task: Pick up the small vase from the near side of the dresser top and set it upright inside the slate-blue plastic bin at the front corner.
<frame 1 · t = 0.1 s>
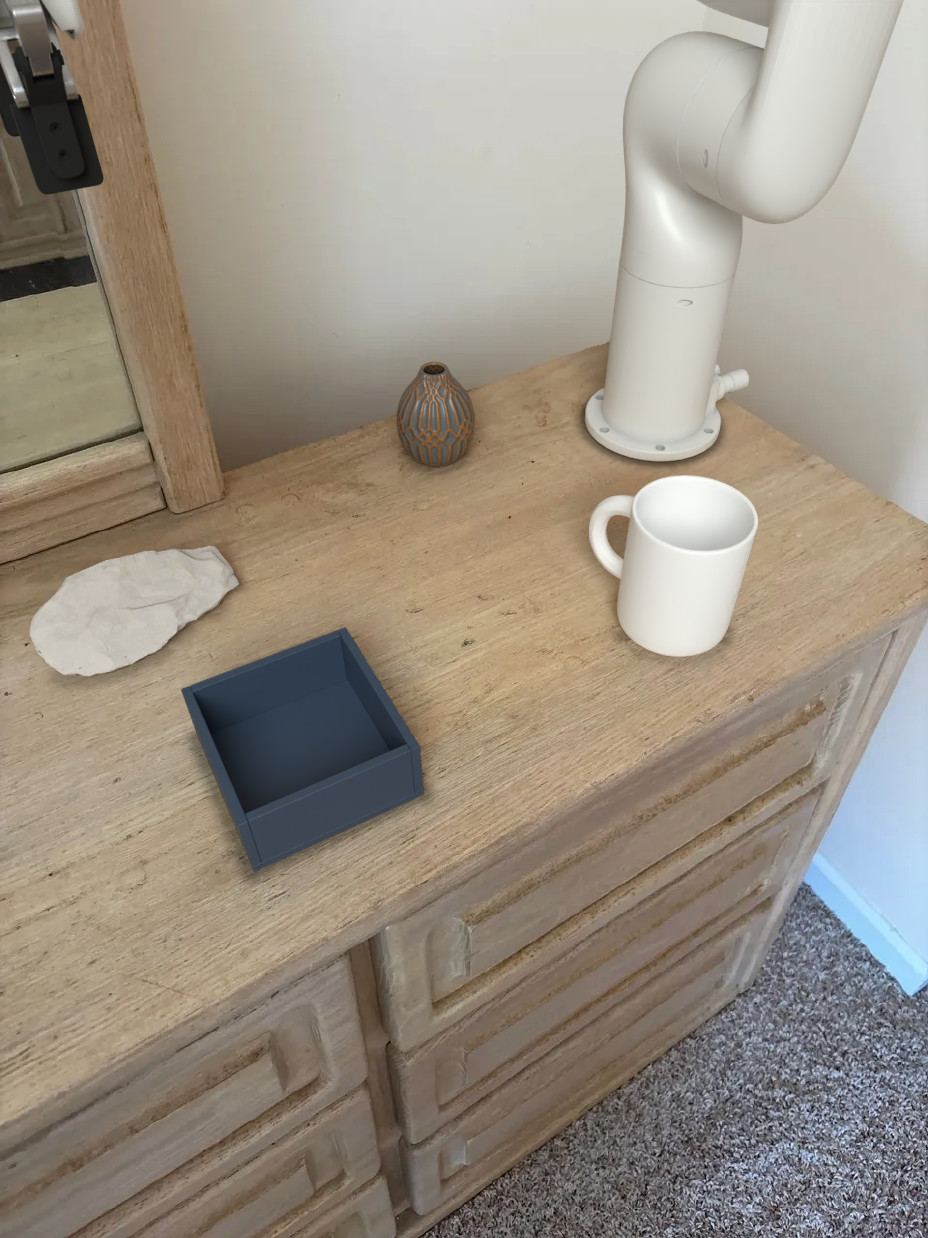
hand: (53, 157, 49), 31 cm above the dresser, tool pointing down, fingers open, 9 cm apart
stone tool: (145, 624, 68), on the dresser
bin: (307, 765, 58), on the dresser
mug: (649, 610, 68), on the dresser
vase: (437, 456, 83), on the dresser
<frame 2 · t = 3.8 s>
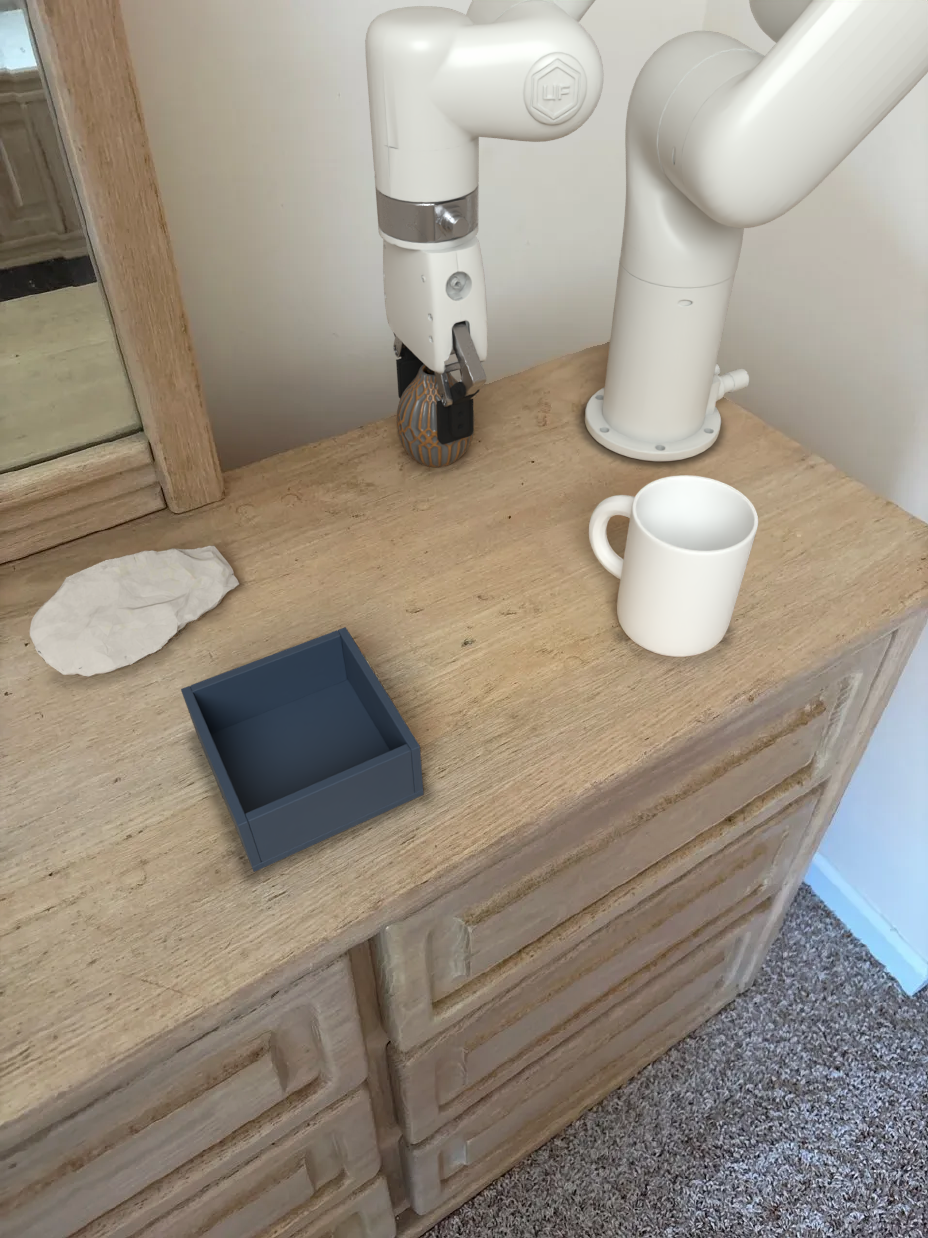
hand: (435, 415, 79), 4 cm above the dresser, tool pointing down, fingers closed on vase, 6 cm apart
vase: (436, 456, 83), on the dresser, touching gripper
everything else where it was.
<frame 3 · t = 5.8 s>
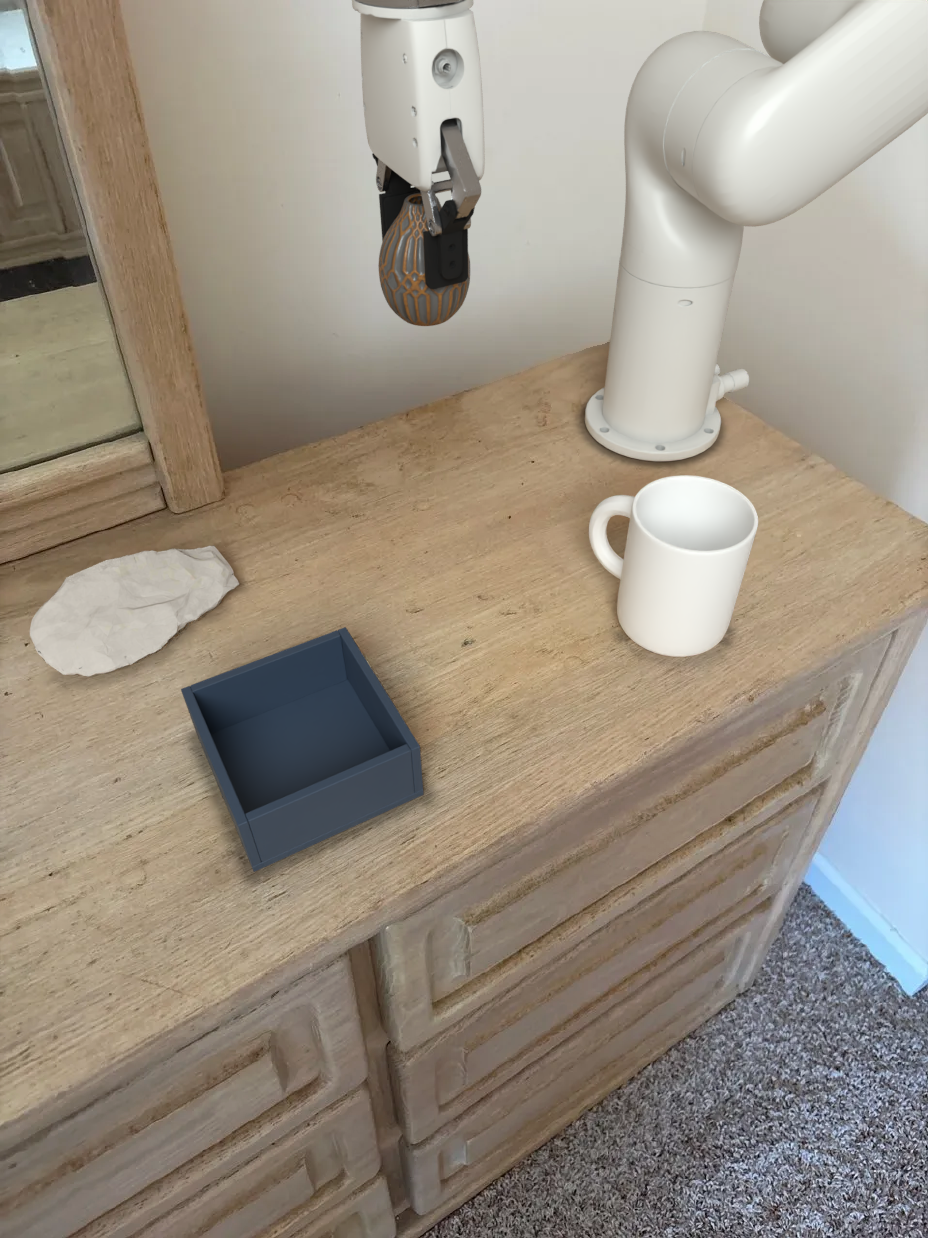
hand: (424, 261, 68), 19 cm above the dresser, tool pointing down, fingers closed on vase, 6 cm apart
vase: (426, 316, 71), point 14 cm above the dresser, touching gripper
everything else where it was.
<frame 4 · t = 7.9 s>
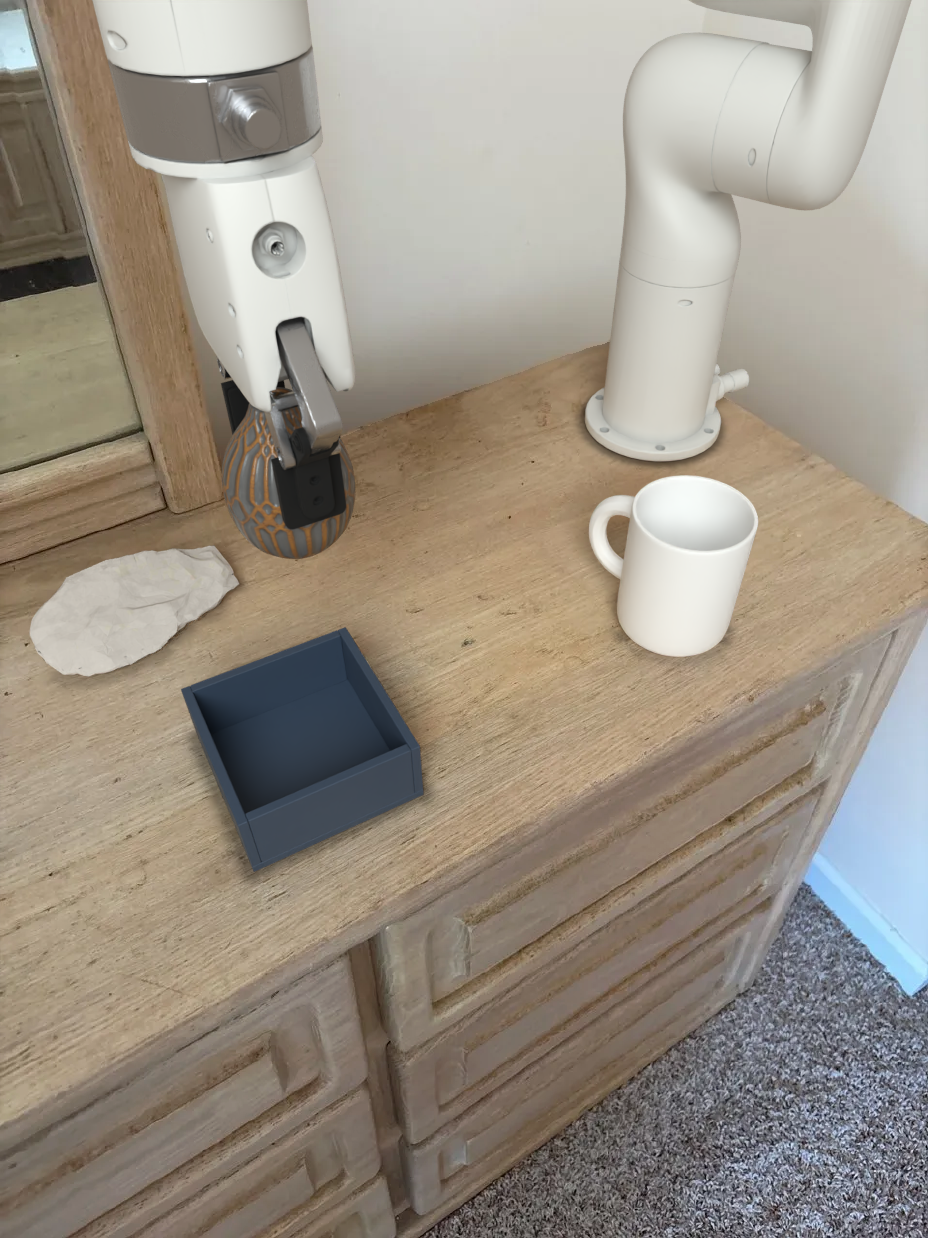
hand: (288, 475, 48), 20 cm above the dresser, tool pointing down, fingers closed on vase, 6 cm apart
vase: (299, 538, 51), point 15 cm above the dresser, touching gripper
everything else where it was.
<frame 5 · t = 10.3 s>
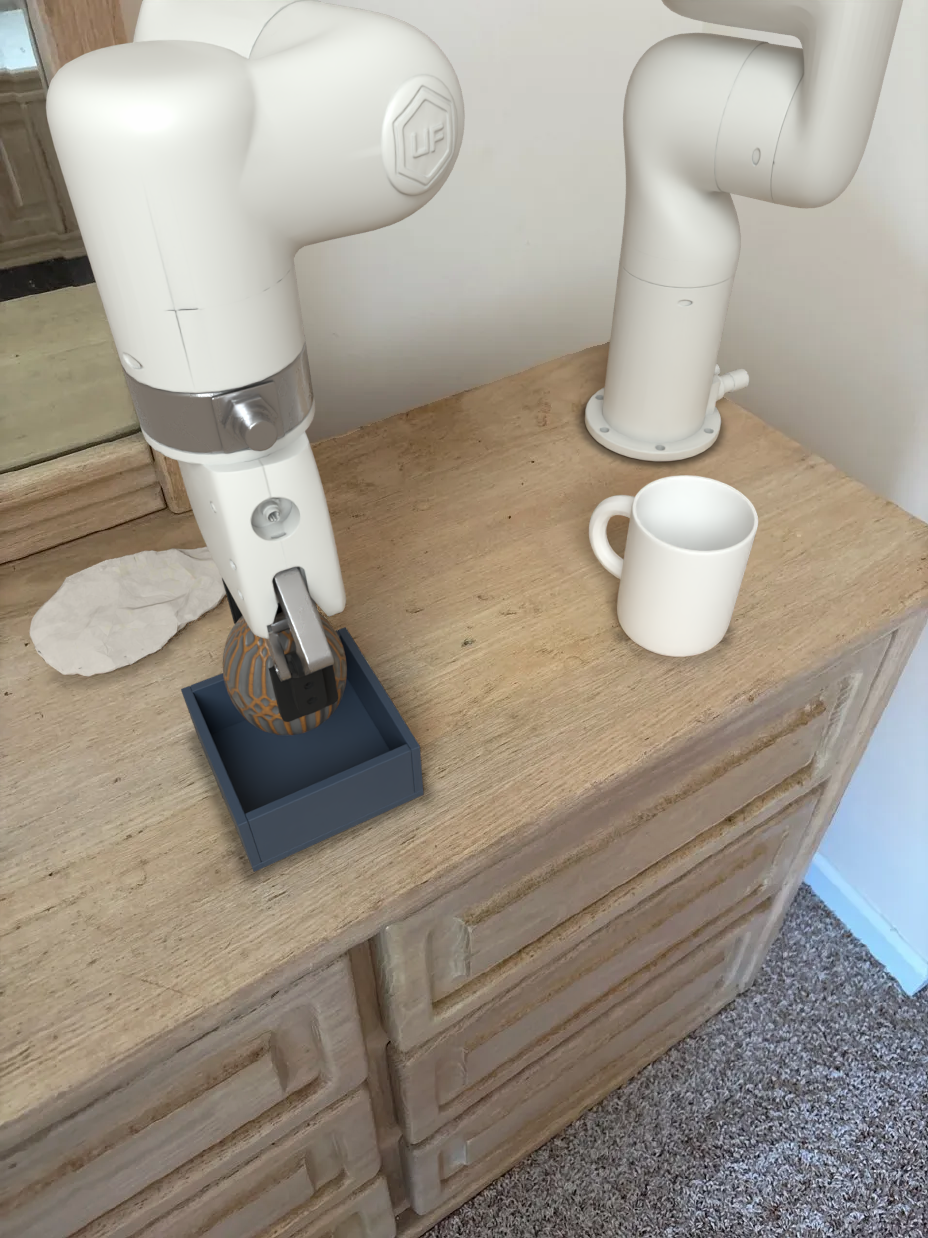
hand: (284, 661, 51), 10 cm above the dresser, tool pointing down, fingers closed on vase, 6 cm apart
vase: (295, 709, 54), point 6 cm above the dresser, touching gripper
everything else where it was.
when the fingers open (5 cm above the dresser, at t = 12.1 s): vase stays where it is, resting on bin.
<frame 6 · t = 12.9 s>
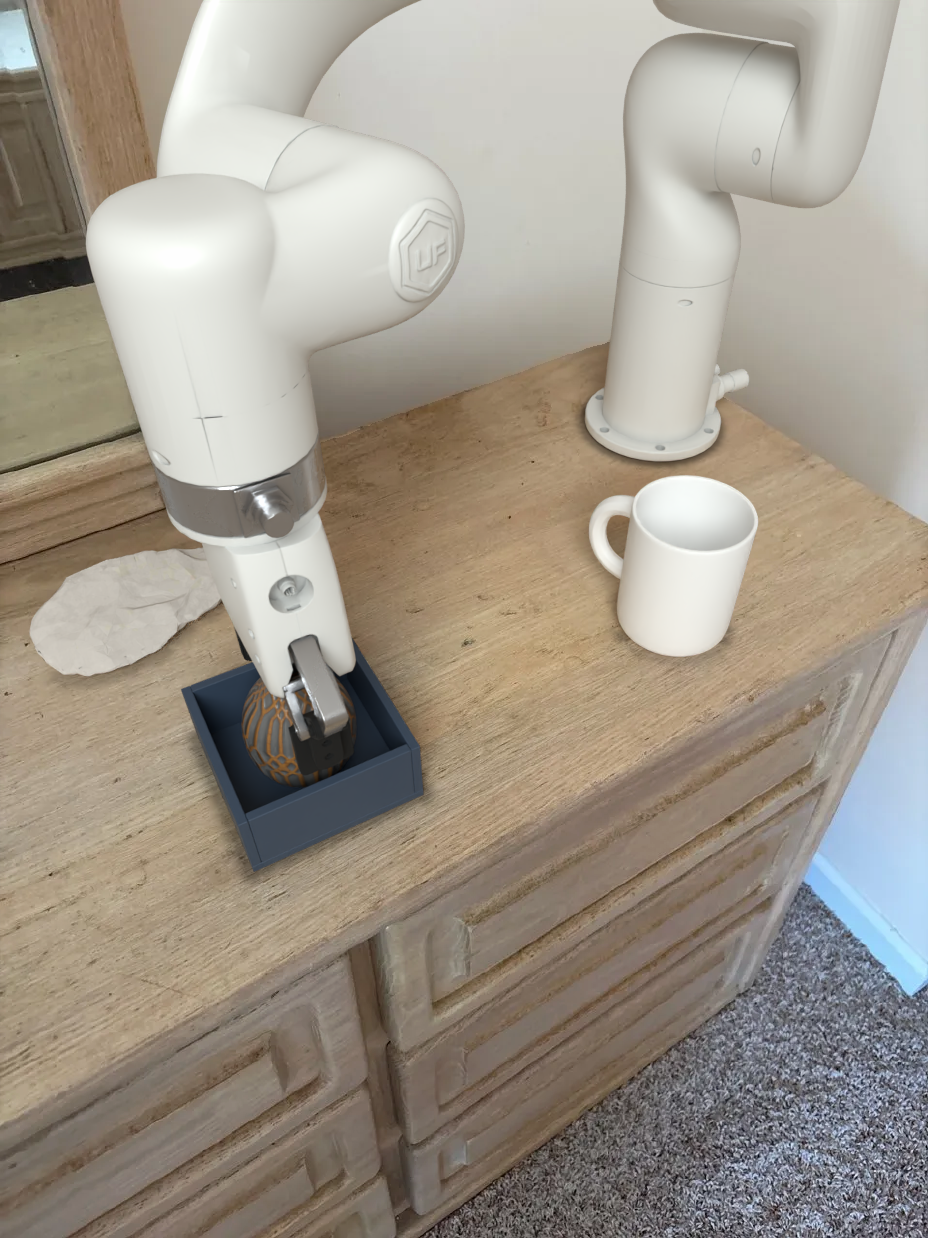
hand: (295, 703, 54), 6 cm above the dresser, tool pointing down, fingers open, 9 cm apart
vase: (307, 761, 58), resting on bin
everything else where it was.
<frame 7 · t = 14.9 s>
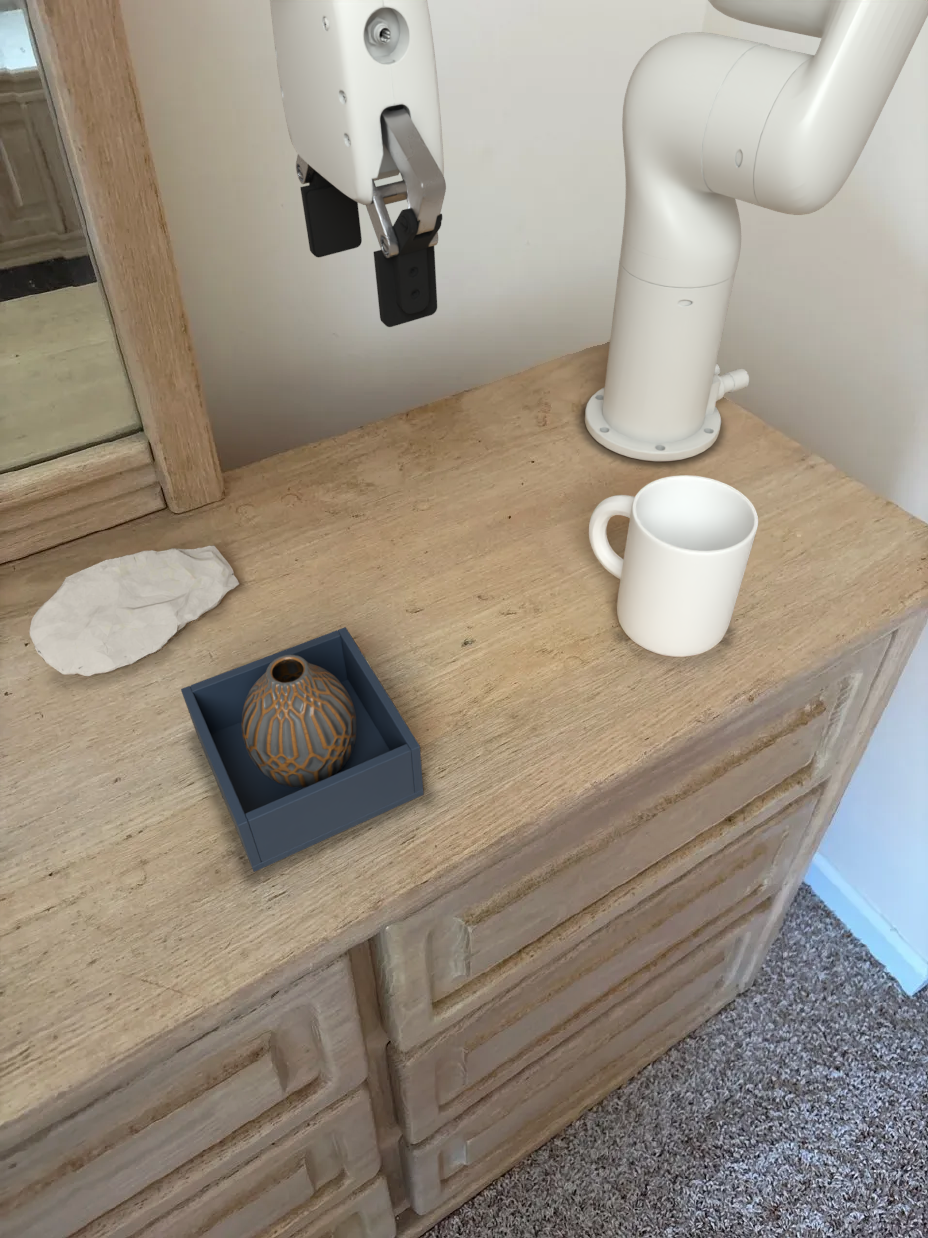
hand: (370, 282, 52), 25 cm above the dresser, tool pointing down, fingers open, 9 cm apart
nothing on the dresser moved.
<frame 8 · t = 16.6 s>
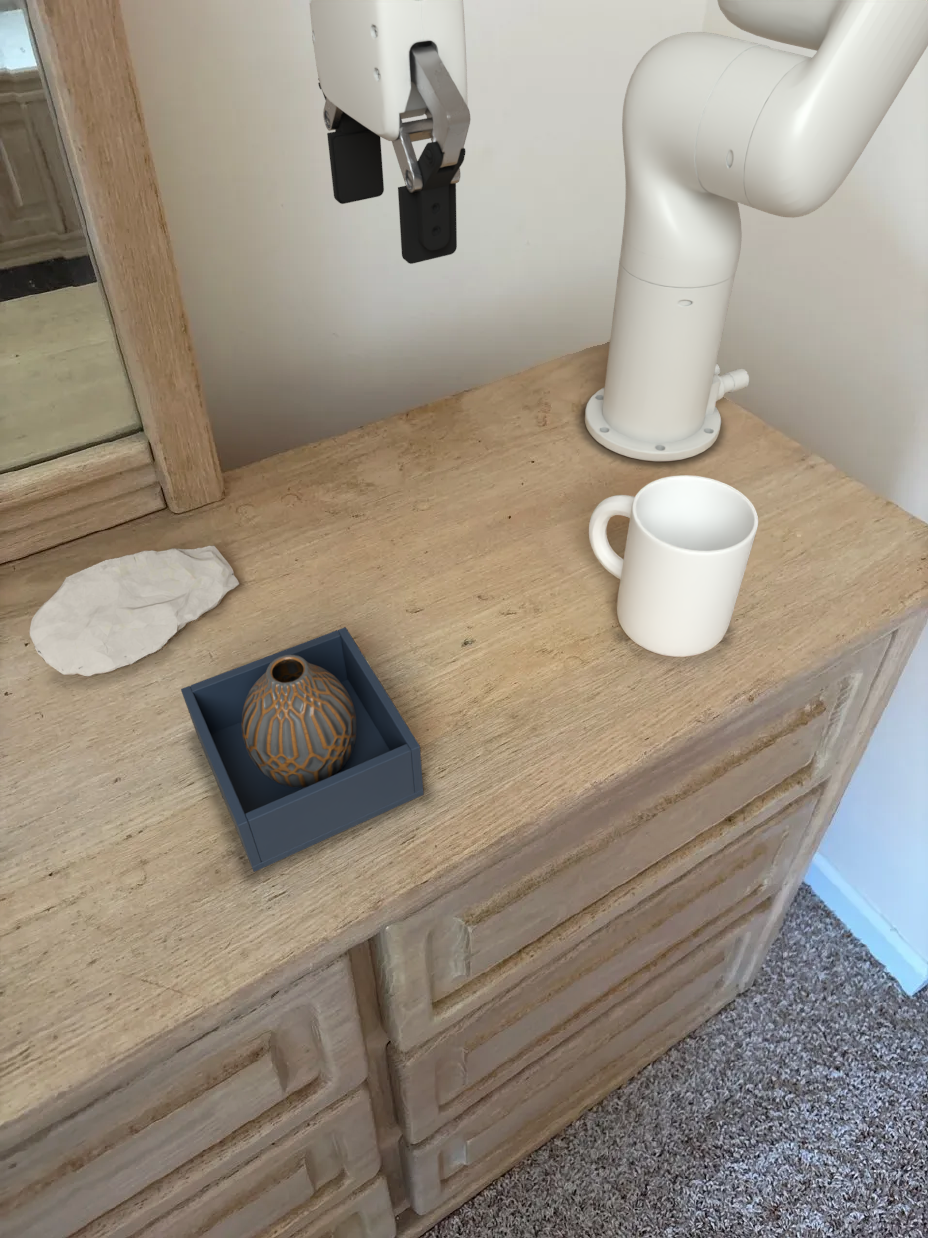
hand: (392, 225, 54), 26 cm above the dresser, tool pointing down, fingers open, 9 cm apart
nothing on the dresser moved.
at the end: vase inside the target area in the bin (0.1 cm from its centre), point 0.4 cm above the bin's base; vase tilted 0°; the gripper is holding nothing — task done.
